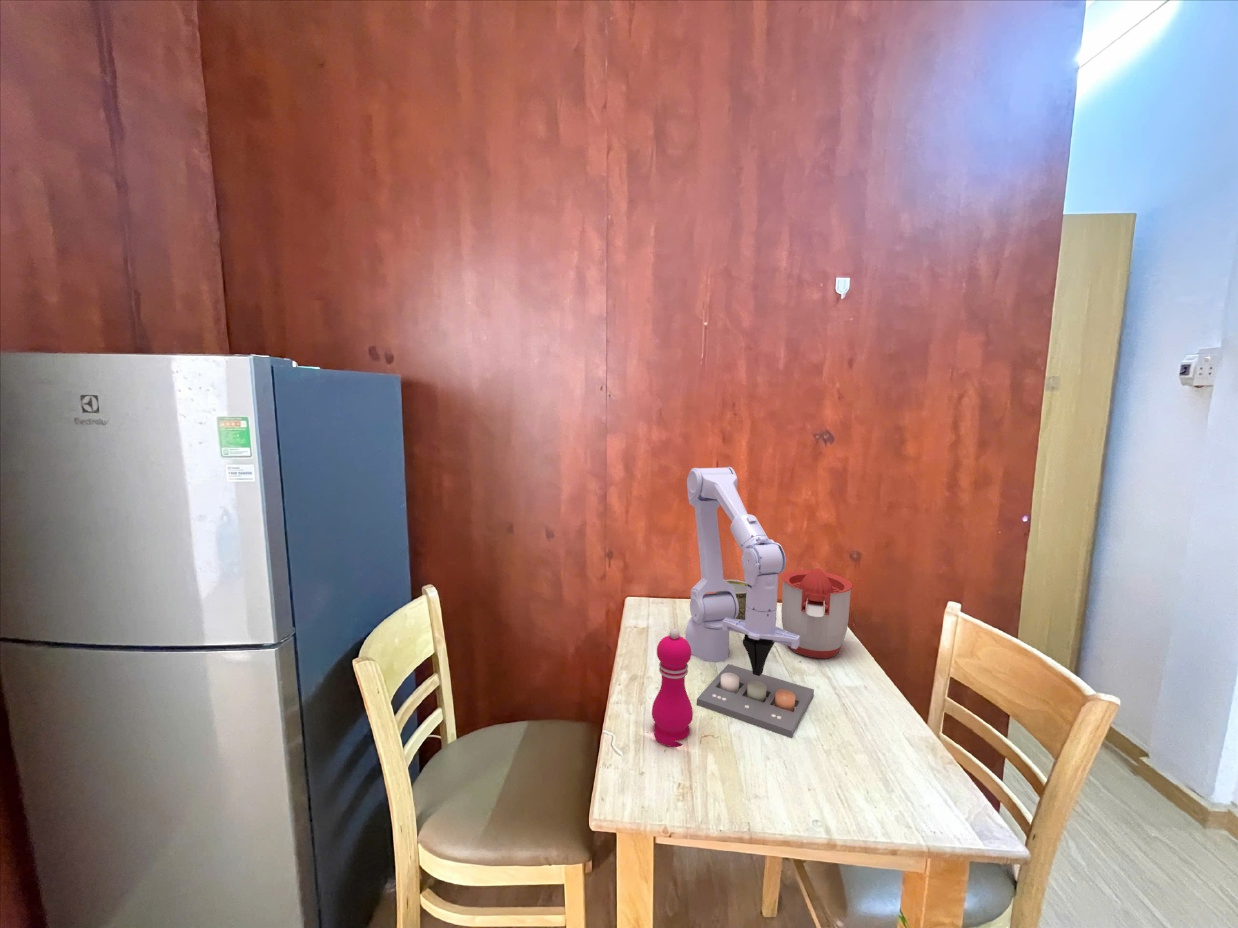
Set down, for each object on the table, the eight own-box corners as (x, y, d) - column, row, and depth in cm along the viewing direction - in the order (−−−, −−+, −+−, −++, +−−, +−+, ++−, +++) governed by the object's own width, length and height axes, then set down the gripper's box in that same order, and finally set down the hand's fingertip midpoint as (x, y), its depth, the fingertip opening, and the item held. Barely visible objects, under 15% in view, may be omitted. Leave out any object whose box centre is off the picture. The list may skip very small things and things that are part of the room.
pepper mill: (695, 728, 99) (699, 623, 96) (687, 752, 92) (691, 641, 89) (657, 719, 101) (659, 617, 98) (646, 743, 94) (648, 634, 91)
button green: (744, 701, 105) (744, 686, 105) (750, 692, 108) (751, 678, 108) (762, 707, 103) (763, 692, 103) (768, 698, 106) (768, 684, 106)
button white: (717, 692, 108) (718, 678, 108) (724, 684, 111) (724, 670, 111) (734, 698, 106) (735, 683, 106) (741, 689, 109) (741, 675, 109)
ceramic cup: (707, 623, 143) (708, 587, 142) (722, 611, 151) (724, 576, 150) (754, 636, 136) (756, 598, 134) (768, 623, 144) (770, 587, 143)
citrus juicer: (775, 660, 124) (780, 576, 121) (780, 629, 140) (784, 554, 138) (849, 673, 119) (855, 585, 116) (845, 639, 135) (851, 562, 132)
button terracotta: (772, 710, 102) (773, 695, 102) (777, 701, 105) (778, 687, 105) (791, 716, 100) (792, 701, 100) (796, 707, 103) (797, 692, 103)
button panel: (696, 710, 104) (696, 697, 104) (727, 674, 117) (728, 662, 117) (791, 744, 94) (792, 729, 94) (813, 701, 108) (814, 688, 107)
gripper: (717, 604, 104) (714, 670, 105) (794, 622, 96) (789, 693, 98) (730, 593, 110) (728, 656, 111) (804, 609, 102) (800, 677, 104)
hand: (757, 672), depth 105 cm, fingers closed
